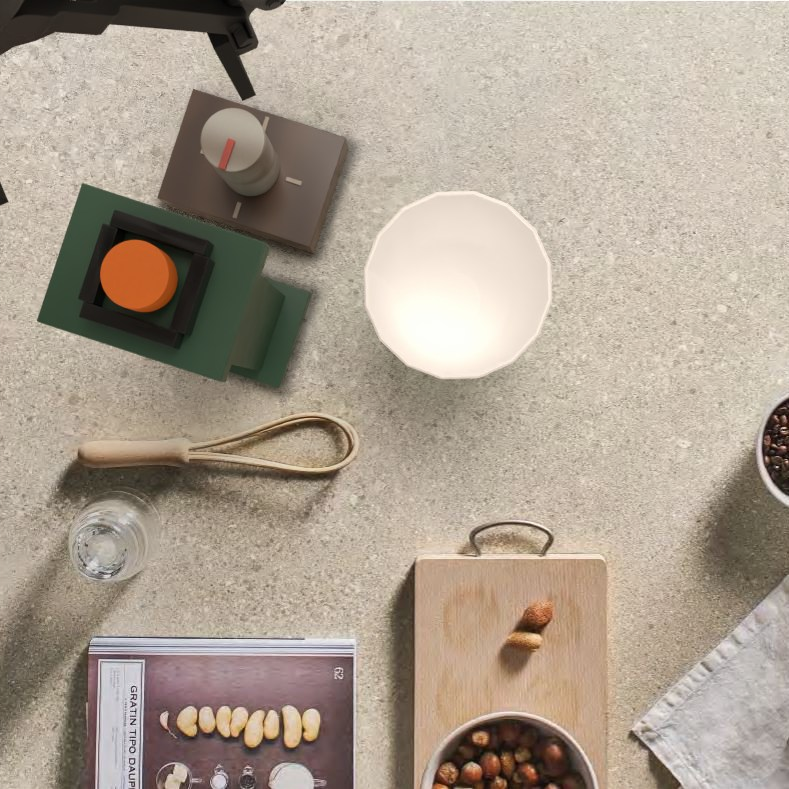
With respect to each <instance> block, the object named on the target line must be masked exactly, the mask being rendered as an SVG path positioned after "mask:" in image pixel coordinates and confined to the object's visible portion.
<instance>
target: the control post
mask: <svg viewBox="0 0 789 789" xmlns="http://www.w3.org/2000/svg"><path fill="white" fill-rule="evenodd" d="M128 240H142V241H146V242H148V243H150V244H152V245H154V246H155V247H157V248H159V249H160V250H162V251H163V252H165V253H166V254H167V255H168V256H169V257H170V258H171V259H172V261H173V263H174V265H175V267H176V270H177V275H178V282H177V287H176V291H175V293H174V295H173V297H172V298H171V299H170V301H169V302H168V303H167V304H166V305H164V306H163V307H161V308H160V309H157V310H155V311H152V312H137V311H134V310H131V309H128V308H125V307H122V306H120V305H118V304H116V303H115V302H113V301H112V300H111V299H110V298H109V297H108V296H107V294H106V293H105V291H104V289H103V287H102V283H101V278H100V271H101V266H102V262H103V260H104V258H105V256H106V255H107V253H108V252H109V251H110V250H111V249H112V248H113V247H115V246H116V245H118V244H119V243H122V242H124V241H128ZM270 250H271V247H270V245H269V244H268V243H267V242H266V241H263V240H260V239H256V238H253V237H251V236H247V235H244V234H241V233H238V232H235V231H232V230H229V229H226V228H222V227H219V226H218V225H213V224H210V223H207V222H204V221H201V220H198V219H196V218H195V219H194V218H192V217H188V216H185V215H182V214H179V213H177V212H173V211H170V210H167V209H164V208H161V207H159V206H156V205H152V204H148V203H146V202H142V201H140V200H136V199H134V198H130V197H127V196H125V195H121V194H118V193H115V192H111V191H109V190H106V189H103V188H99V187H96V186H93V185H90V184H88V183H83V182H82V183H81V185H80V188H79V192H78V195H77V198H76V201H75V203H74V206H73V209H72V213H71V215H70V219H69V223H68V225H67V228H66V231H65V234H64V237H63V240H62V243H61V246H60V249H59V252H58V254H57V258H56V261H55V263H54V264H55V265H54V268H53V270H52V273H51V276H50V278H49V282H48V285H47V289H46V292H45V294H44V297H43V301H42V304H41V307H40V311H39V312H38V316H37V319H36V322H37V323H40V324H43V325H46V326H49V327H52V328H54V329H58V330H61V331H64V332H67V333H70V334H73V335H76V336H79V337H82V338H86V339H88V340H92V341H95V342H98V343H100V344H102V345H103V344H104V345H107V346H110V347H113V348H115V349H119V350H122V351H124V352H128V353H131V354H134V355H137V356H140V357H144V358H146V359H149V360H152V361H155V362H158V363H161V364H164V365H167V366H171V367H173V368H175V369H176V368H177V369H180V370H182V371H186V372H189V373H192V374H195V375H197V376H201V377H204V378H207V379H210V380H213V381H216V382H220V383H226V382H227V380H228V377H229V374H232V375H235V376H238V377H242V378H243V379H248V380H251V381H254V382H257V383H259V384H262V385H265V386H269V387H271V388H275V389H278V390H281V389H282V386H283V385H284V381H285V377H286V375H287V371H288V369H289V365H290V364H291V363H290V362H291V359H292V356H293V353H294V350H295V347H296V344H297V341H298V338H299V335H300V333H301V332H300V331H301V329H302V327H303V323H304V319H305V318H306V317H305V316H306V314H307V311H308V307H309V304H310V301H311V298H312V295H313V294H312V292H311V291H309V290H305V289H302V288H299V287H297V286H293V285H290V284H286V283H284V282H281V281H277V280H275V279H271V278H268V277H265V276H263V275H262V274H263V271H264V268H265V264H266V261H267V259H268V256H269V252H270Z"/></svg>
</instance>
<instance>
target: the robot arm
mask: <svg viewBox="0 0 789 789" xmlns="http://www.w3.org/2000/svg"><path fill="white" fill-rule="evenodd" d="M286 2H287V0H0V56H2V55H4V54H5V53H7V52H9V51H10V50H11V49H13V48H15V47H19V46H22V45H26V44H30V43H33V42H36V41H39V40H42V39H43V38H45V37H48V36H51V35H52V34H55V33H60V34H61V33H62V34H73V35H85V36H86V35H88V36H89V35H90V36H101V35H102V34H103V33H104V32H105V31H106V30H107V28H108V27H109V26H110V25H111V26H123V27H124V26H125V27H135V28H147V29H148V28H149V29H156V30H157V29H159V30H170V31H181V32H192V33H193V32H194V33H206V34H207V37H208V39H209V42H210V44H211V46H212V49H213V50H214V52H215V54H216V55H217V57H218V59H219V61H220V63H221V65H222V67H223V69H224V70H225V73H226V74H227V76H228V77H229V79H230V82H231V83H232V85H233V86H234V88H235V90H236V92H237V94H238V95H239V98H240V100H241V101H242V102H244V101H246V100H248V99H251V98H253V97H256V96H257V93H256V92H255V89H254V86H253V84H252V81H251V79H250V77H249V75H248V73H247V70H246V68H245V65H244V63H243V61H242V59H241V56H242V55H244V54H246V53H249V52H251V51H254V50H256V49H258V47H259V46H258V45H259V43H260V40H259V39H258V36H257V34H256V32H255V29H254V26H253V25H252V22H251V20H250V17H251V14H252V13H253V12H254V11H255V10H256V9H258V10H261V11H267V12H268V11H273V10H276V9H278V8H280V7H281V6H283V5H284V4H285V3H286ZM7 203H9V199H8V197H7V194H6V191H5V189H4V188H3V185H2V182H1V181H0V206H3V205H6V204H7Z"/></svg>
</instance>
